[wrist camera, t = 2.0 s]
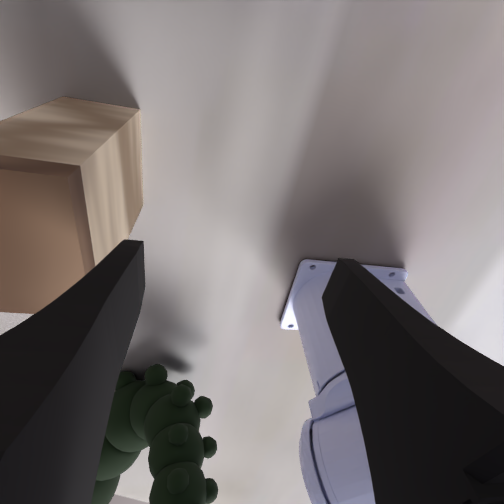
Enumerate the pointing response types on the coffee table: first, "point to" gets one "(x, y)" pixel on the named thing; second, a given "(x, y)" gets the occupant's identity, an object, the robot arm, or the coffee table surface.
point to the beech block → (64, 195)
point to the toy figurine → (157, 439)
